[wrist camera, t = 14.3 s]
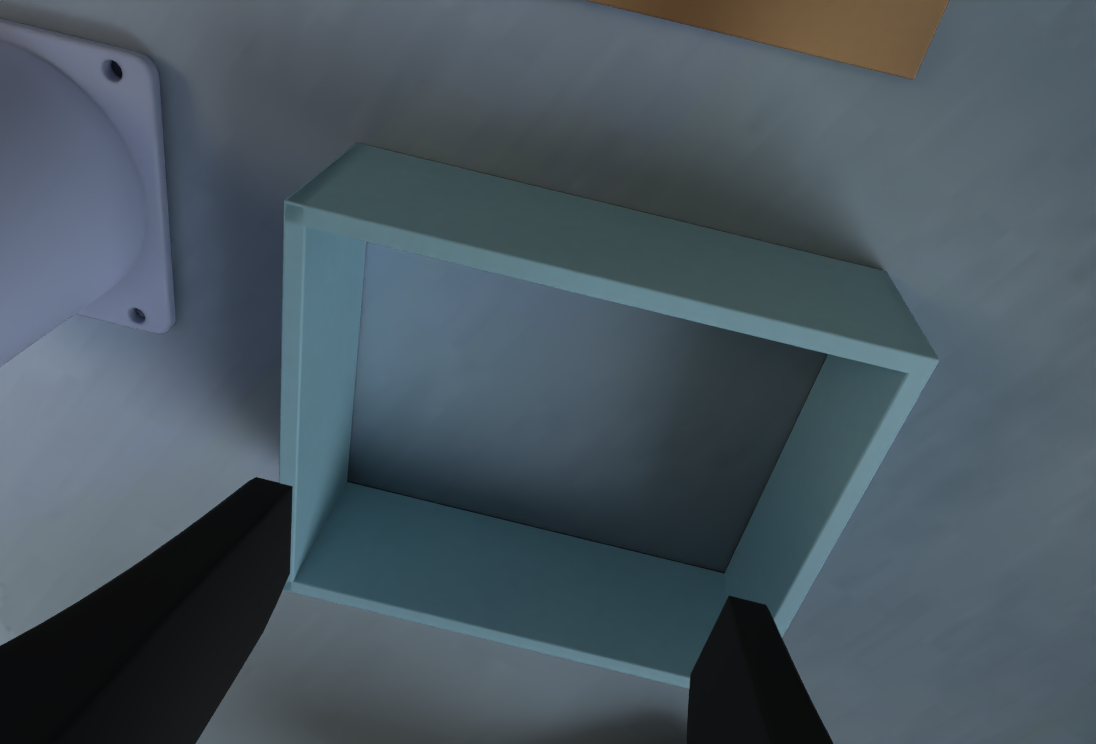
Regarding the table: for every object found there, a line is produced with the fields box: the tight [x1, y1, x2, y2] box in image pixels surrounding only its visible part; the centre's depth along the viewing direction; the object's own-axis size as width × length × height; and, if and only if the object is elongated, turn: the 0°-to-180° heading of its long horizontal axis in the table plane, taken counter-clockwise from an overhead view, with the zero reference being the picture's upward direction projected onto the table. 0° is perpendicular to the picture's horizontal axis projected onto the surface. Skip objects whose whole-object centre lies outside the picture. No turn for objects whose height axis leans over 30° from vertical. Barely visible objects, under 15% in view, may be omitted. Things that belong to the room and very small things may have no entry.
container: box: [279, 143, 939, 688], centre depth 21 cm, size 14×12×4 cm
